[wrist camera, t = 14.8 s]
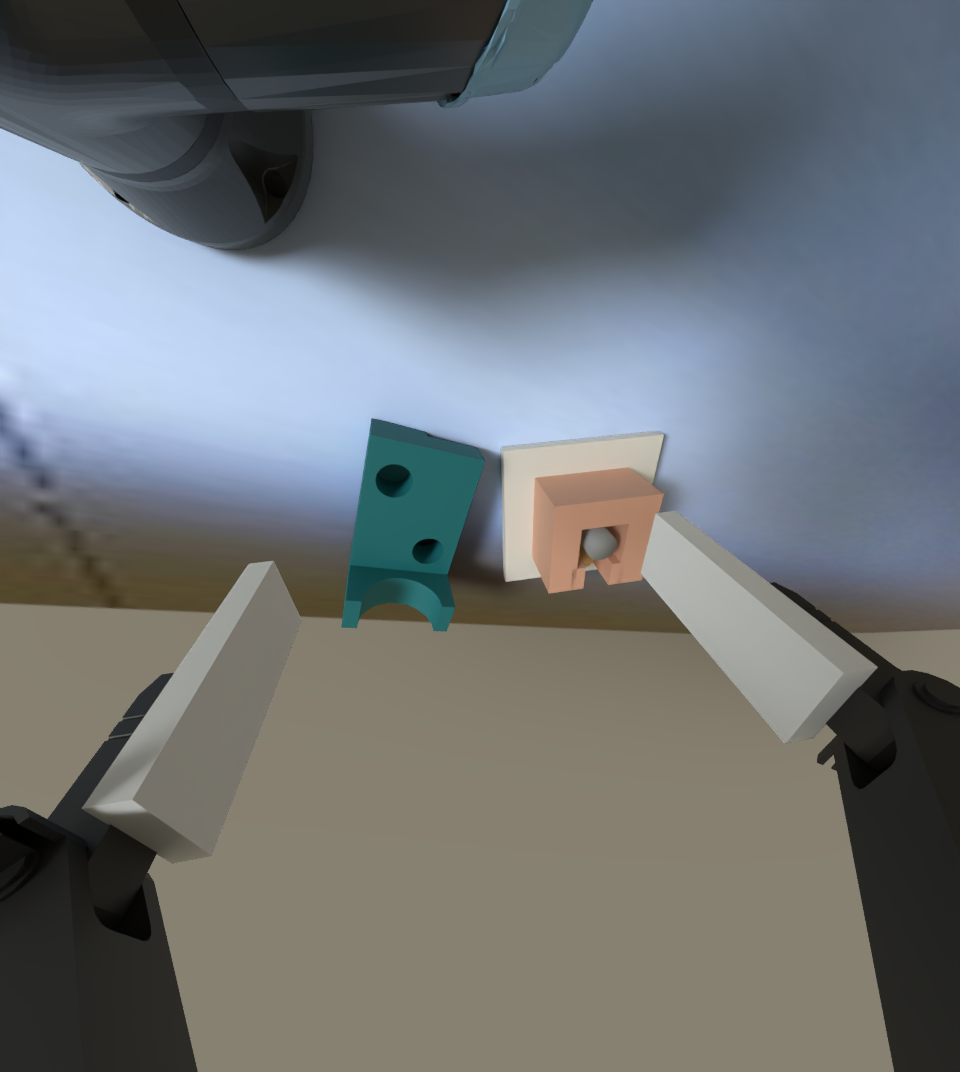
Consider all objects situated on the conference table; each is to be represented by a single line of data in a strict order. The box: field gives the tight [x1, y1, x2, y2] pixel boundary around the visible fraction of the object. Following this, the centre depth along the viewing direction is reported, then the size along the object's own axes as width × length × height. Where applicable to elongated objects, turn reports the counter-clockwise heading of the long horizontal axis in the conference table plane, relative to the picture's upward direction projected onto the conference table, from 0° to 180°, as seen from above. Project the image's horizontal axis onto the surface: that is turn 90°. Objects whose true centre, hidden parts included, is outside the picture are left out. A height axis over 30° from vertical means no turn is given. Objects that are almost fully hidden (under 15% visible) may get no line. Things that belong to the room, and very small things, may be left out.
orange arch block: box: [532, 467, 664, 593], centre depth 39 cm, size 11×11×7 cm
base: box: [501, 431, 664, 582], centre depth 40 cm, size 18×18×8 cm
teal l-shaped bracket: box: [342, 419, 485, 631], centre depth 36 cm, size 18×11×10 cm, turn 162°
